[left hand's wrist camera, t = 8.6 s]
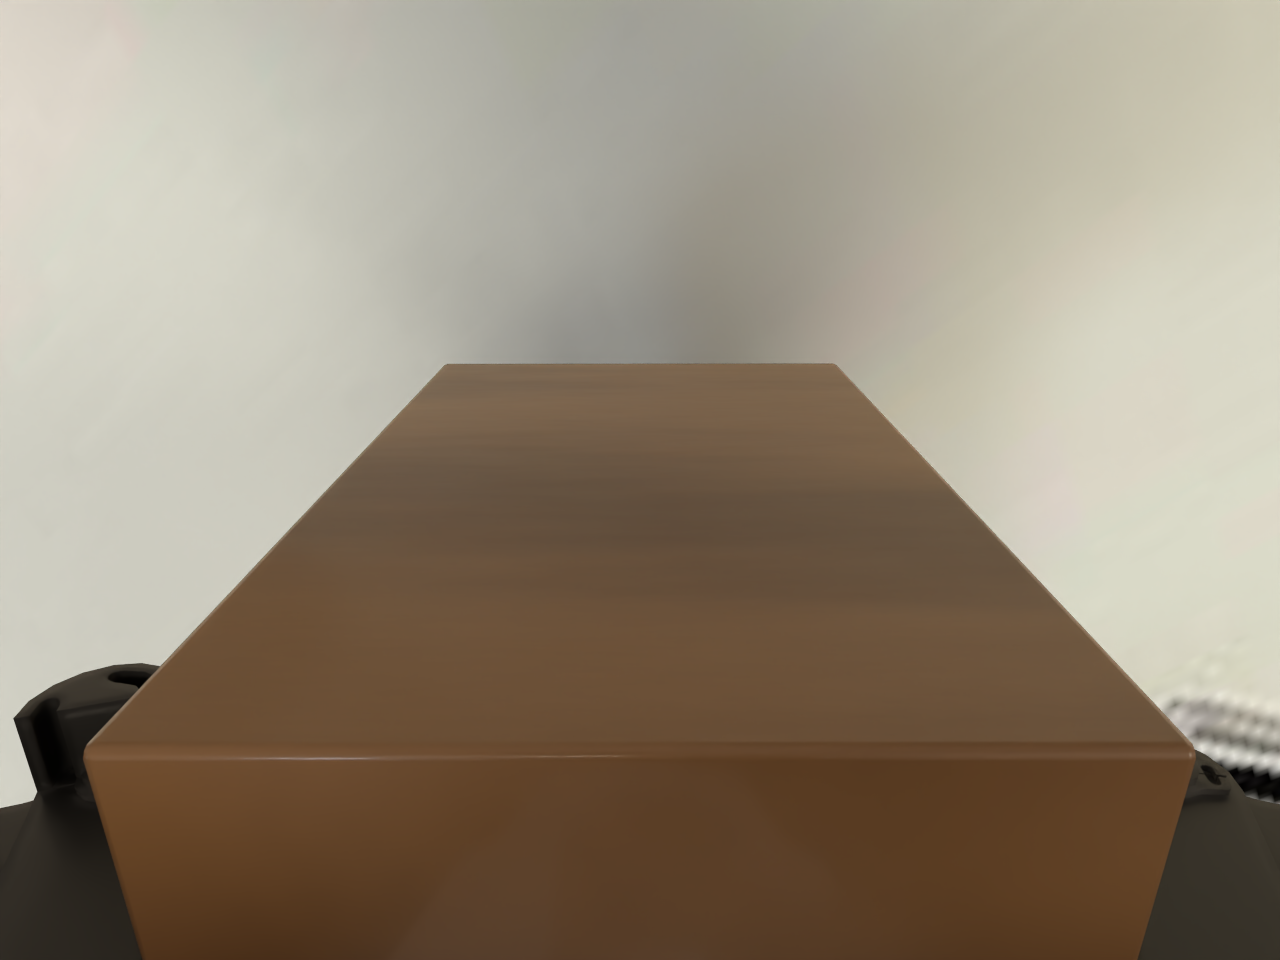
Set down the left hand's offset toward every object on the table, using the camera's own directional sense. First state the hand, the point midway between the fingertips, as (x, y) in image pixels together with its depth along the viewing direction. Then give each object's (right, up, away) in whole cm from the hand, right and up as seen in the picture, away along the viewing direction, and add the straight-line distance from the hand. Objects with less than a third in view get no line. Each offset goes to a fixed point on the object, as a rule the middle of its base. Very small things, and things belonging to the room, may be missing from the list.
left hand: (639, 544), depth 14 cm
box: (0, -11, +5) cm, 12 cm away
